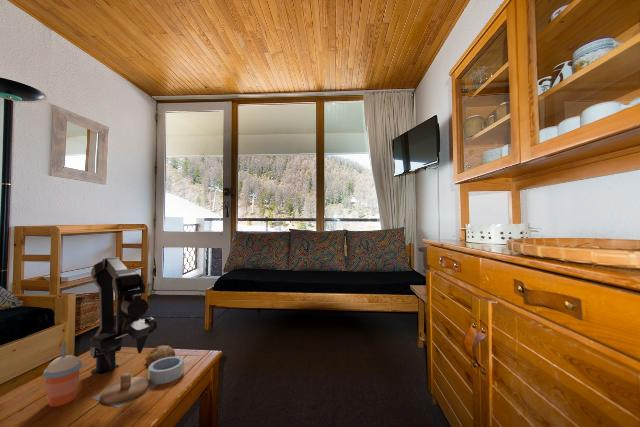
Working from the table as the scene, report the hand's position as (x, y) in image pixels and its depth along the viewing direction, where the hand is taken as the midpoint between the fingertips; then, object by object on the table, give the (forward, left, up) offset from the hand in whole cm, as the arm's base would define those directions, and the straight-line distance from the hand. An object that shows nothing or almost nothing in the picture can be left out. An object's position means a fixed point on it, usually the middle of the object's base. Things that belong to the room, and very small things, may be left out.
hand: (126, 358), depth 94 cm
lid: (0, 0, -10) cm, 10 cm away
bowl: (+4, +12, -11) cm, 17 cm away
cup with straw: (-14, -11, -11) cm, 20 cm away
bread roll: (-8, +19, -11) cm, 23 cm away
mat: (0, 0, -11) cm, 11 cm away
